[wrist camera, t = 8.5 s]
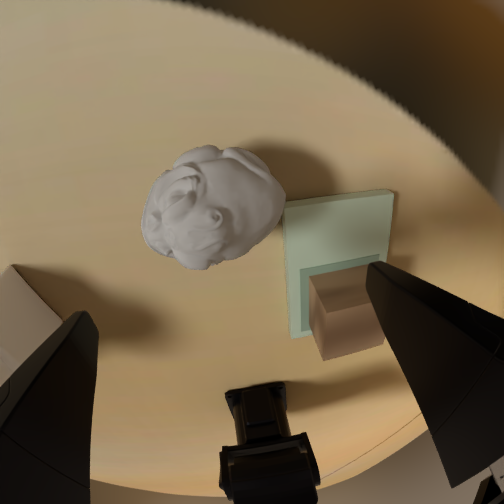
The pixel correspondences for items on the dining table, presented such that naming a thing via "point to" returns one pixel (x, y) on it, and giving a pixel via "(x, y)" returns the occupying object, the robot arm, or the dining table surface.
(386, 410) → the dining table surface
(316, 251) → the base board
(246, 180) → the grey lumpy rounded piece
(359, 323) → the walnut block
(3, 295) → the medicine bottle
